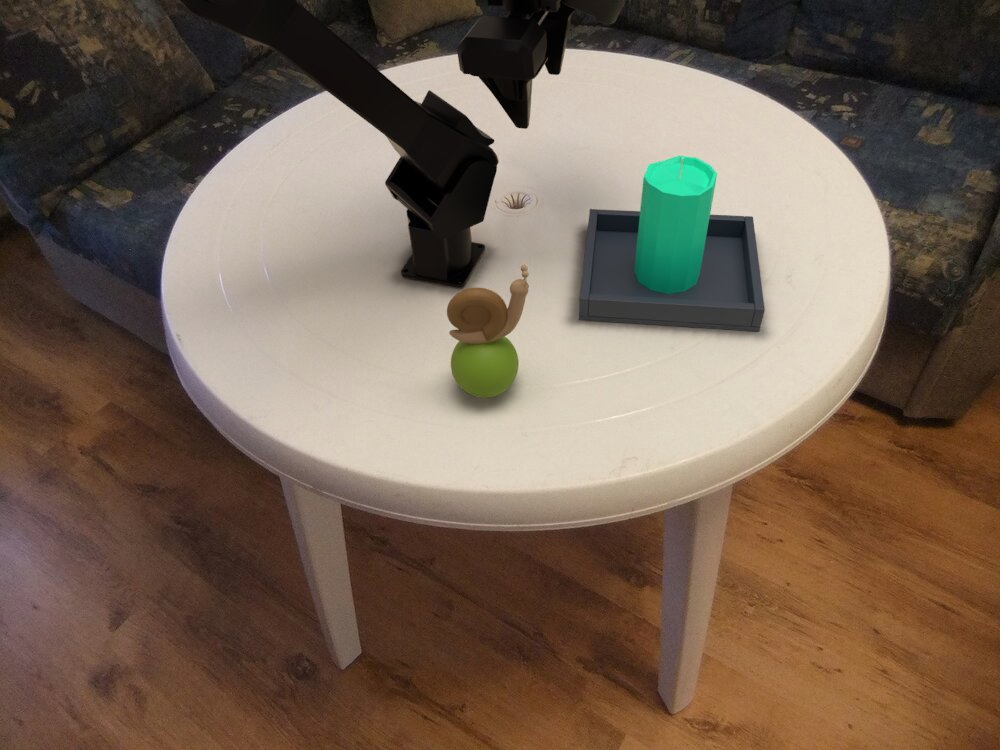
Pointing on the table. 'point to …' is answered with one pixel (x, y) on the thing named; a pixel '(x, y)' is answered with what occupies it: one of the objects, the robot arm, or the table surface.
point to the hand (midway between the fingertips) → (539, 99)
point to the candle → (673, 223)
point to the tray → (709, 304)
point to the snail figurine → (485, 338)
